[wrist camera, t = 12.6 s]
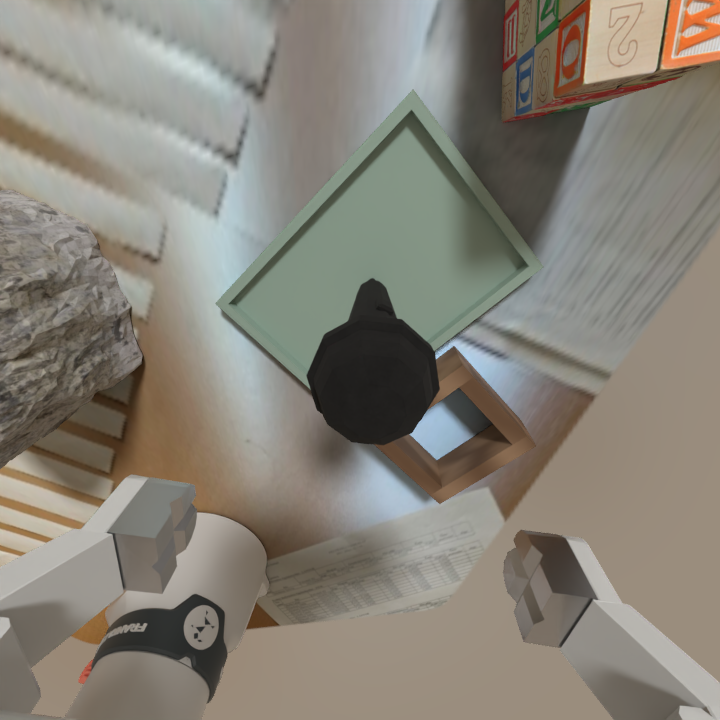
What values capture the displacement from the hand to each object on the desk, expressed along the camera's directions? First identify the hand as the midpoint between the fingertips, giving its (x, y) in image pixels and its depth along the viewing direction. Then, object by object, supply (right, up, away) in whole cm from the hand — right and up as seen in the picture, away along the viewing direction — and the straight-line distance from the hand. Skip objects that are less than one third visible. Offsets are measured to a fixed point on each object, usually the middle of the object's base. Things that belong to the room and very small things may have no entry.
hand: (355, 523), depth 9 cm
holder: (+9, -2, +28) cm, 30 cm away
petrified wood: (-28, +9, +26) cm, 39 cm away
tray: (+1, +11, +23) cm, 25 cm away
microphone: (+1, +11, +22) cm, 25 cm away
